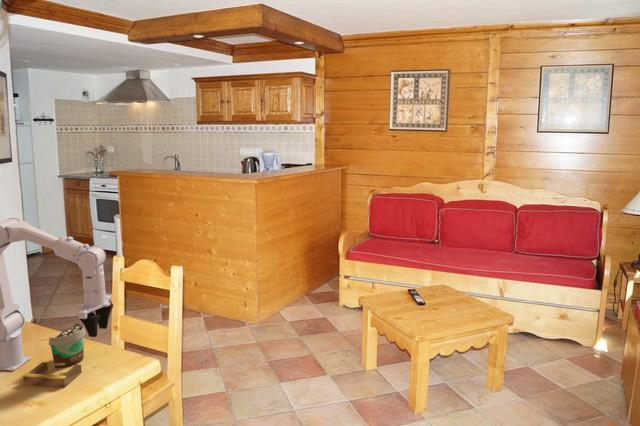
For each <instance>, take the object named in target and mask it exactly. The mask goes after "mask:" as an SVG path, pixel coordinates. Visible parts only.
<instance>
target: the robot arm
mask: <svg viewBox="0 0 640 426" xmlns="http://www.w3.org/2000/svg"><path fill="white" fill-rule="evenodd" d="M22 241H27V242H30V243H32V244H36V245H39V246H42V247H45V248H48V249H50V250H53V252H54V254H55V256H58V257H60V258H62V259H65V260H68V261H69V262H72V263H75V264H77V266H78V267H79V269H80V271H81V275H82V283H83V284H82V285H83V286H82V288H83V297H84V304H83V306H82V307H81V308H80V311H78V319H79V320H80V321H81V324H82V325H83V326H84V328H85V331H86V332H87V335H88V337H90V338H97V336H98V329H102V330H107V328H108V326H109V320H110V315H111V314H112V313H111V312H112V310H113V308H114V303H111V302H112V301H113V295H112V294H111V293H106V282H105V280H106V279H105V272H104V271H105V270H104V262H105V261H106V259H107V253H106V251H105V250H104V249H103V248H102V247H101V246H100V245H97V244H95V245H94V244H93V245H91V246H90V245H89V244H88V243H85V244H84V243H82V242H80V241H78V240H75V239H74V237H73V236H63V237H61V238H59V237H56V236H55V235H52V234H50V233H49V232H46V231H44V230H42V229H39V228H37V227H36V226H33V225H31V224H30V223H29V222H27V221H26V220H24V219H23V220H21V219H20V218H17V217H10V218H9V217H8V218H7V219H5V220H2V221H0V371H9V372H10V371H11V372H13V371H16V370H17V369H18V368H19V367H21V366H22V365H24V364H25V363H27V362H28V361H30V360H31V359H32V356H27V355H25V354H24V348H23V347H24V346H23V339H22V327H23V326H25V325H24V324H25V323H26V318H25V315H24V314H23V313H22V311H21V309H20V305H18V304H17V303H15V302H14V301H13V296H12V291H11V290H12V289H11V286H10V280H9V275H8V270H7V266H6V261H5V256H4V251H5V250H6V249H7V248H8V247H9V246H10V245H11V244H12V243H15V242H16V243H17V242H22Z"/></svg>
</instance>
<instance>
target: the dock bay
mask: <svg viewBox="0 0 640 426" xmlns="http://www.w3.org/2000/svg"><path fill="white" fill-rule="evenodd" d="M48 365H49V364H48V362H44V361H42V362H41V363H39V364H38V365H37V366H35V367H34V368H33V369H31V370H29V371H28V372H27V373H24V374H23V375H22V378H23V385H25V386H34V387H35V386H36V387H49V388H53V387H54V388H63V389H64V388H66V387H67V386H69V384H71V382H73V381H74V380H75V379H76V378H77V377H78V376H80V374H82V373H83V370H82V364H79V363H78V364H76V365H73V366H71V368H70V369H69V370H67V372H65V373H64V374H63V375H58V374H57V375H54V374H46V373H47V372H48V371H49V368H48Z"/></svg>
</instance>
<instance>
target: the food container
mask: <svg viewBox="0 0 640 426" xmlns="http://www.w3.org/2000/svg"><path fill="white" fill-rule="evenodd" d="M86 332H87V330H86V328H85V326H84V324H83V323H82V322H81V323H80V322H77V321H75V323H74V325H73V326H72V327H70V328H68V329H65V330H63V331H62V332H61V333H59V334H58V335H57V336H56V337H49V339H48V346H50V348H51V354H52V358H53V359H52V360H53V364H54V368H55V369H64V368H65V369H66V368H70V367H74V366H75V365H76V364H78V365H79V363H81V362H82V361H83V360H84V358H85V357H84V353H85V351H84V350H85V349H84V347H85V346H84V343H85V342H84V340H85V339H84V336H86Z"/></svg>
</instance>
